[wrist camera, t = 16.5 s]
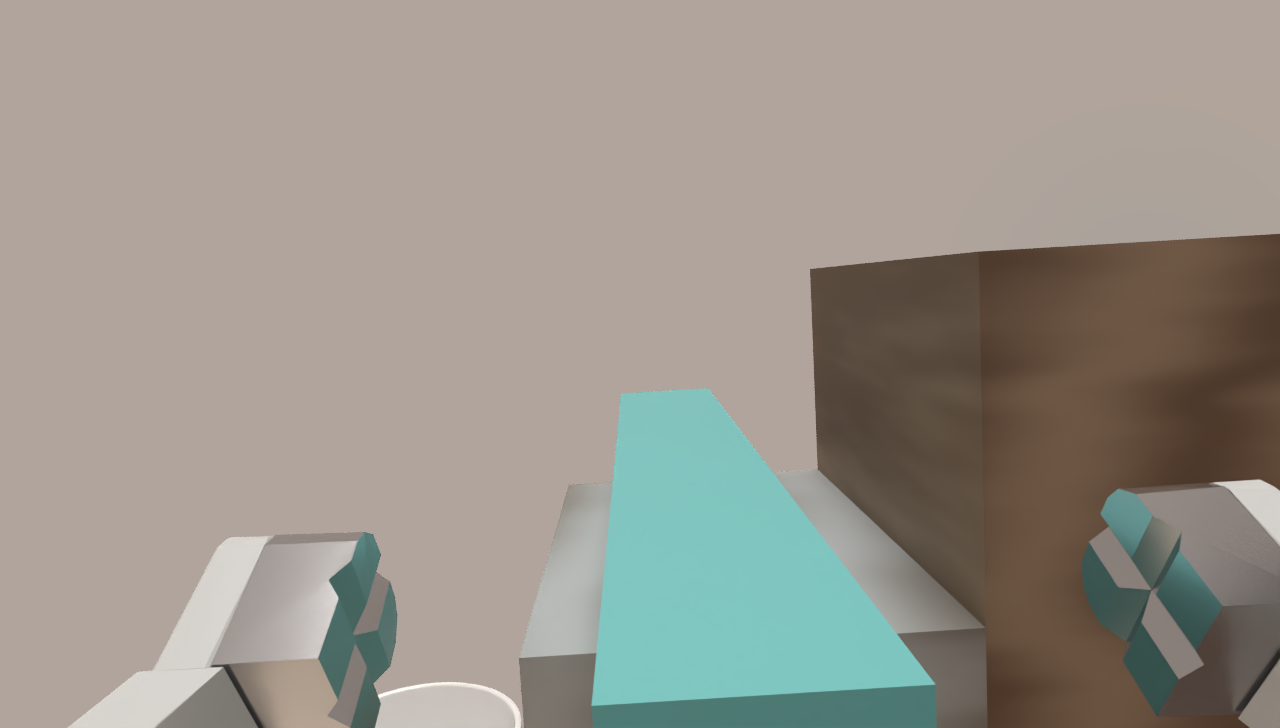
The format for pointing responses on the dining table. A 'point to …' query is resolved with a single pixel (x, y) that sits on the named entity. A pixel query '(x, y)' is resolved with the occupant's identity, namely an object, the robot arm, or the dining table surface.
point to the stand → (991, 462)
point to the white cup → (447, 707)
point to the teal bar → (732, 593)
